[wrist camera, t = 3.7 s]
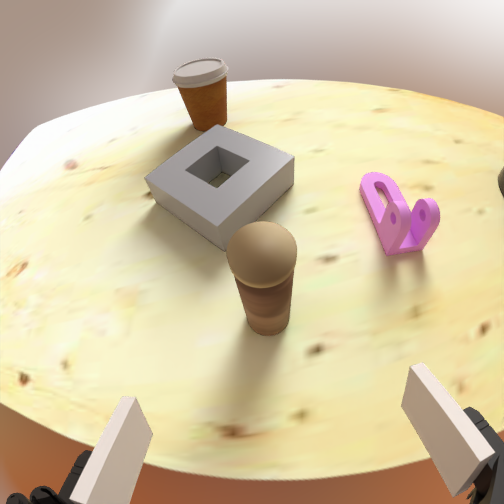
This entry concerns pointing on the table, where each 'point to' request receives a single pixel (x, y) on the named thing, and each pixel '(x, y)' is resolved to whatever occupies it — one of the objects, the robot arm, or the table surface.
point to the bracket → (398, 216)
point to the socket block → (231, 191)
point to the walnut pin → (264, 274)
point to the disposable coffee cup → (204, 91)
